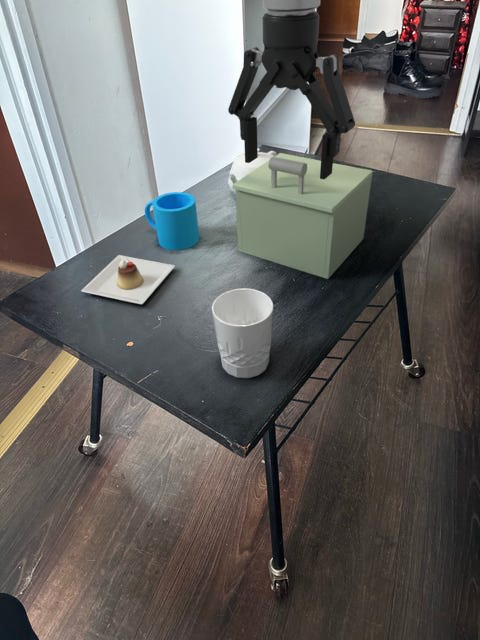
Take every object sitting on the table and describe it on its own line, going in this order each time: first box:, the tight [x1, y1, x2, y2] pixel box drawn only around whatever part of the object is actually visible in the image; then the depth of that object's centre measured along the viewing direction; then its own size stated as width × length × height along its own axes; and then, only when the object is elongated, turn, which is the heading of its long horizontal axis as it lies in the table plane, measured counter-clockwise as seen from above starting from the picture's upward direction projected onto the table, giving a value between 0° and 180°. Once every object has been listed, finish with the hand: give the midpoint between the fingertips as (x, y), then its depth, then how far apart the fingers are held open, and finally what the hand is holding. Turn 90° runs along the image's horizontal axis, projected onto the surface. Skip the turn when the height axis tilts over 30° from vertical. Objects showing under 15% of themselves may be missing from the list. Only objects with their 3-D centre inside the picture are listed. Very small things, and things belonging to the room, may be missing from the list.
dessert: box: [80, 254, 176, 305], centre depth 82 cm, size 12×12×5 cm
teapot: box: [227, 147, 278, 195], centre depth 106 cm, size 20×12×10 cm, turn 148°
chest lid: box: [232, 152, 374, 213], centre depth 81 cm, size 16×19×6 cm
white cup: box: [211, 287, 274, 379], centre depth 64 cm, size 8×8×10 cm
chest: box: [235, 175, 373, 280], centre depth 87 cm, size 16×19×13 cm
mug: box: [144, 191, 200, 251], centre depth 93 cm, size 12×8×8 cm
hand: (287, 168), depth 76 cm, fingers open, 13 cm apart
